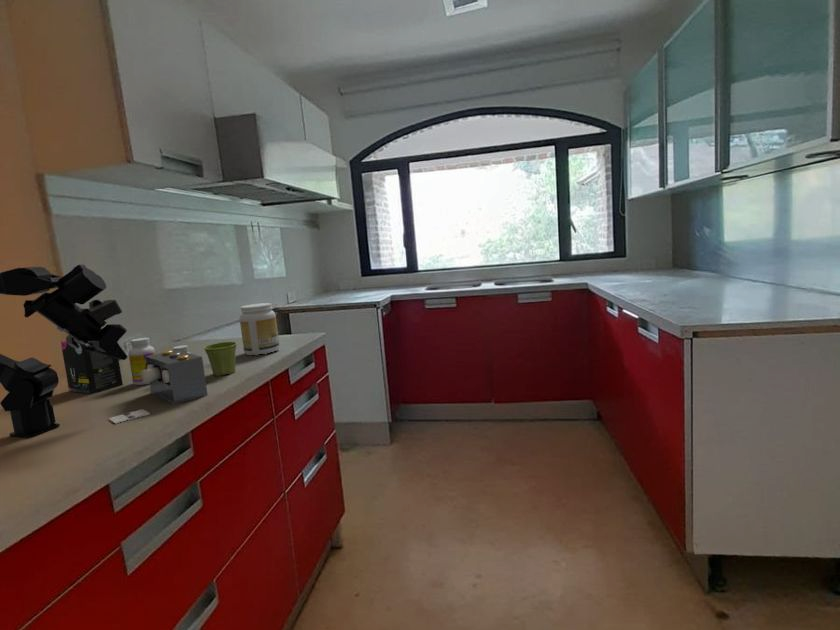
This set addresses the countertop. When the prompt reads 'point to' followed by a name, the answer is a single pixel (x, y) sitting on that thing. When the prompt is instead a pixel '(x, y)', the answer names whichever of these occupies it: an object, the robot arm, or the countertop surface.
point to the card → (129, 416)
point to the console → (178, 376)
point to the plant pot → (221, 357)
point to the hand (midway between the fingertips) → (125, 358)
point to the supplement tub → (259, 329)
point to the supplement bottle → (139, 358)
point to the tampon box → (90, 370)
